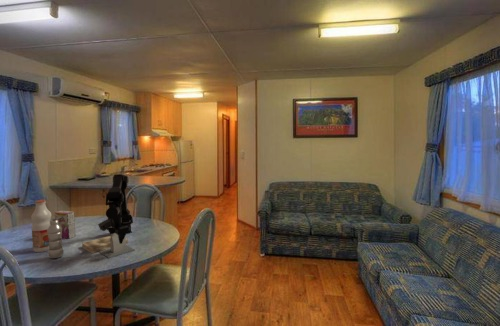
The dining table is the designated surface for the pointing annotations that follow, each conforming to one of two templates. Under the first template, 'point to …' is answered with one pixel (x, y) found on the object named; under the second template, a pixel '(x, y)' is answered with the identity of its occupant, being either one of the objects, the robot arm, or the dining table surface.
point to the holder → (98, 244)
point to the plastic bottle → (55, 239)
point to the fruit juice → (40, 226)
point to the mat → (111, 254)
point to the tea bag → (117, 243)
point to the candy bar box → (66, 223)
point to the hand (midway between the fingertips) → (116, 241)
